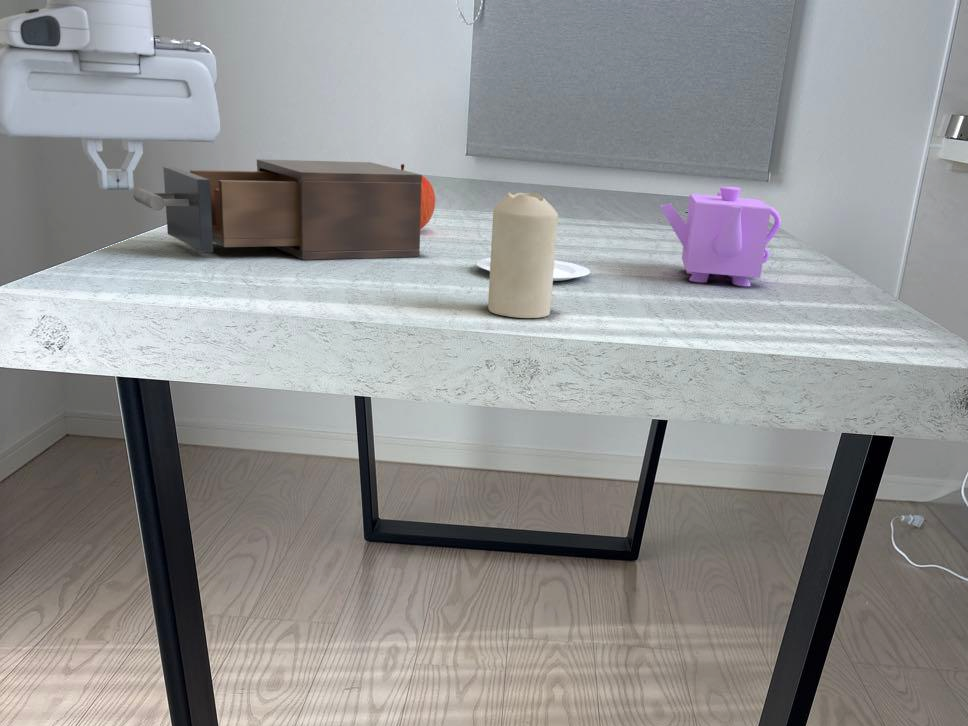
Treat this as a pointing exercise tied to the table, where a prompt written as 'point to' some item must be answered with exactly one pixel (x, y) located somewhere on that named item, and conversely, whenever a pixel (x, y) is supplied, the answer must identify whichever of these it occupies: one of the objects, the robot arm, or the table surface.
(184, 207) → the drawer
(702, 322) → the table surface
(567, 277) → the white saucer
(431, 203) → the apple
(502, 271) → the candle
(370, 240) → the cabinet
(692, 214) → the teapot
